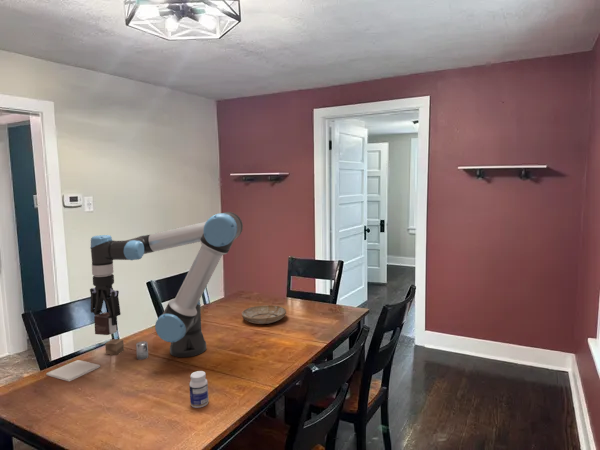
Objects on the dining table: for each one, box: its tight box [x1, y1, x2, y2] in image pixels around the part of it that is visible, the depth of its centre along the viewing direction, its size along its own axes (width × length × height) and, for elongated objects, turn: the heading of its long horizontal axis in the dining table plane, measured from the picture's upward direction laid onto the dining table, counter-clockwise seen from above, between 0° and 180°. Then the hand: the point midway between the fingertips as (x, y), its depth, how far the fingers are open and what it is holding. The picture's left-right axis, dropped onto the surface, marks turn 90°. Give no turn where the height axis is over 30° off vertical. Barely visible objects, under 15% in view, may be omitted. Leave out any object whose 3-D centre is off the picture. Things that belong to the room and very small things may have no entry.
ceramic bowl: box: [241, 304, 287, 325], centre depth 213 cm, size 23×24×5 cm
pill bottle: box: [188, 370, 210, 409], centre depth 131 cm, size 6×6×10 cm
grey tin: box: [135, 340, 149, 361], centre depth 169 cm, size 4×4×6 cm
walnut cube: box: [104, 338, 125, 356], centre depth 175 cm, size 5×5×5 cm
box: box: [93, 311, 118, 336], centre depth 162 cm, size 6×6×7 cm
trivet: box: [46, 359, 101, 382], centre depth 158 cm, size 13×13×1 cm
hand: (106, 331), depth 163 cm, fingers closed on box, 7 cm apart
